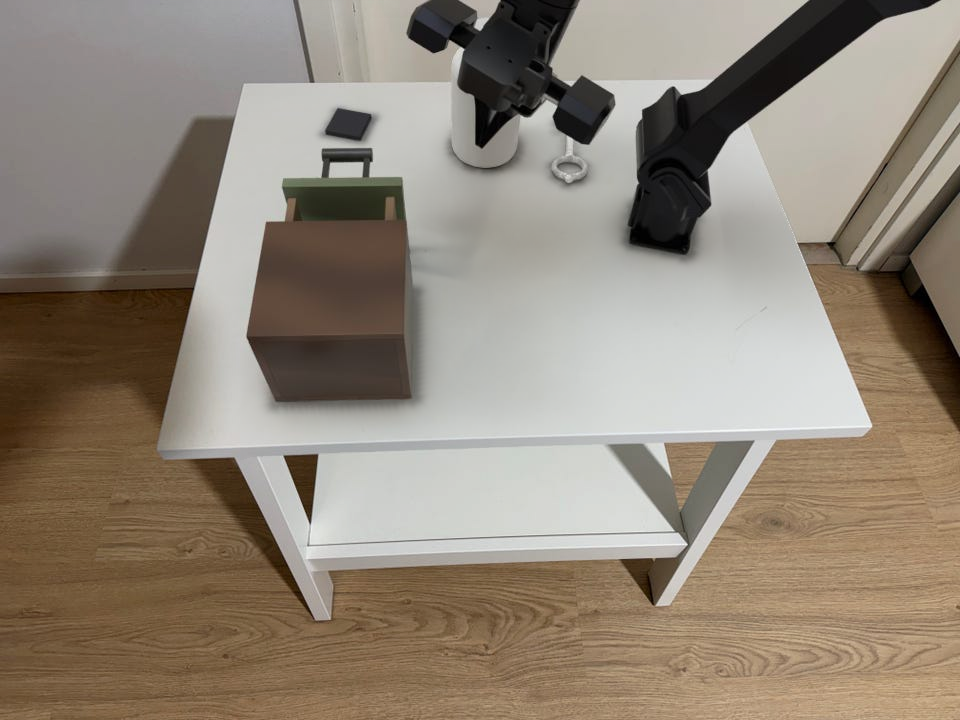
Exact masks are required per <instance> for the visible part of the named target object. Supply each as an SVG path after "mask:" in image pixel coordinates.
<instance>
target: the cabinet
mask: <svg viewBox="0 0 960 720" xmlns="http://www.w3.org/2000/svg"><path fill="white" fill-rule="evenodd" d="M409 241H410V240H409V229H408V221H407V219H406V220H348V221H285V220H281V221H279V220H277V221H276V220H275V221H273V220H271V221H265V224H264V232H263V237H262V242H261V247H260V248H261V249H260V253H259V260H258V265H257V271H256V275H255V276H256V277H255V283H254V288H253V295H252V298H251V299H252V300H251V305H250V312H249V317H248V323H247V329H246V334H245V337H246V340H247V342H248V345H249V347H250V349H251V351H252V354H253V355H254V357H255V360H256V362H257V364H258V366H259V369H260V370H261V371H260V372H261V373H262V375H263V377H264V379H265V381H266V384H267V386H268V388H269V391H270V393H271V395H272V397H273V399H274V402H277V403H278V402H314V401H315V402H317V401H356V400H358V401H359V400H361V401H363V400H407V399H408V400H409V399H412V398H413V394H412V393H413V351H414V350H413V349H414V348H413V345H414V341H413V340H414V283H413V272H412V263H411V261H412V260H411V252H410V250H411V249H410V243H409Z"/></svg>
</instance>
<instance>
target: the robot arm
mask: <svg viewBox="0 0 960 720" xmlns="http://www.w3.org/2000/svg"><path fill="white" fill-rule="evenodd" d="M941 1H942V0H807V1H806V2H804V3H803V5H801V6H800V7H799V8H798V9H796V10H795V11H794V12H793V13H792V14H790V15H789V16H788V17H787V18H786V19H785V20H783V21H782V22H781V23H780V24H778V25H777V26H776V27H775V28H774V29H773V30H771V31H770V32H768V33H767V34H766V36H764V37H763V38H762V39H761V40H760V41H758V42H757V43H756V44H755V45H754V46H752V47H751V48H750V49H749V50H748V51H746V52H745V53H744V54H743V55H741V57H739V58H738V59H737V60H735V61H734V62H733V63H731V65H730V66H728V68H726V69H725V70H724V71H723V72H721V73H720V74H719V75H717V77H716V78H714V79H713V80H712V81H711V82H710V83H708V84H707V85H706V86H704V87H703V88H701V89H700V90H698V91H697V90H696V91H693V92H688V93H683V94H682V93H681V92H680V90H679V89H677V87H676V86H674V85H672V86H670V87H669V88H667V89H666V90H665V92H664V93H663V94H662V95H661V96H660V97H659V98H658V99H657V100H656V101H655V102H654V103H652V104H650V105H649V106H646V107H644V108H642V109H641V119H639V121H638V122H637V124H636V126H635V127H636V128H635V162H636V163H635V164H636V165H635V166H636V180H637V182H638V183H637V184H636V187H635V190H634V194H633V198H632V202H631V205H630V208H629V214H628V218H627V219H628V221H627V227H628V228H630V229H629V230H630V231H629V236H628V243H629V244H630V245H634V246H640V247H644V248H650V249H654V250H660V251H664V252H670V253H674V254H675V253H676V254H679V255H680V254H681V255H687V254H689V251H690V249H691V240H692V235H693V233H694V229H695V226H696V225H697V223H698V219H699V218H701V217H702V216H703V215H704V214H705V213H706V212H707V211H708V210H709V209H710V208H711V207H712V196H711V187H710V179H709V178H710V177H709V169H710V168H712V166H713V164H714V163H715V161H716V159H717V158H718V156H719V154H720V153H721V151H722V149H723V148H724V146H725V144H726V143H727V141H728V139H729V138H730V137H731V136H732V135H733V133H735V132H736V131H737V130H738V129H740V128H741V127H742V126H744V125H745V124H746V123H748V122H749V121H750V120H752V119H753V118H755V117H756V116H757V115H759V114H760V113H761V112H762V111H763V110H765V109H766V108H767V107H769V106H770V105H771V104H773V103H774V102H775V101H777V100H778V99H779V98H781V97H782V96H783V95H785V94H786V93H788V92H789V91H790V90H791V89H793V88H794V87H795V86H797V85H798V84H799V83H801V82H802V81H803V80H805V79H806V78H808V76H810V75H811V74H812V73H814V72H815V71H817V70H818V69H819V68H821V67H822V66H824V65H825V64H826V63H827V62H828V61H830V60H831V59H833V58H834V57H835V56H836V55H838V54H839V53H840V52H842V51H843V50H845V49H846V48H847V47H848V46H850V45H851V44H853V43H854V42H855V41H857V39H859V38H861V36H863V35H864V34H866V33H867V32H868V31H870V30H871V29H872V28H873V27H875V26H876V25H878V24H880V23H881V22H882V21H884V20H887V19H890V18H892V17H893V18H894V17H897V16H901V15H905V14H908V13H913V12H917V11H921V10H924V9H928V8H931V7H933V6H934V5H935V4H938V3H939V2H941ZM580 2H581V0H499V2H498V3H497V6H496V9H495V11H494V12H493V13H492V14H491V16H490V17H488V18H489V20H488V21H487V22H486V23H485V25H484V26H483V28H482V29H481V30H480V31H479V30H478V29H476V28H474V26H475V24H476V21H477V19H479V17H478V11H477V10H476V9H474V8H473V7H471V6H469V5H468V4H466V3H464V2H463V1H461V0H426V1H424V2H423V3H421V4H420V5H418V6H416V7H415V8H414V10H413V12H412V13H411V15H410V18H409V22H408V25H407V28H406V32H405V33H406V36H407V39H408V40H410V41H411V42H413V43H415V44H417V45H418V46H420V47H422V48H423V49H425V50H426V51H428V52H430V53H431V54H434V55H435V54H436V53H440V52H443V51H445V50H446V49H447V48H448V45H449V44H450V43H449V42H452V43H454V44H455V45H456V46H458V47H460V48H461V47H462V48H463V49H465V50H464V51H463V55H462V60H461V64H460V69H459V74H458V79H457V85H458V87H459V89H460V90H462V91H463V92H465V93H466V94H471V95H473V96H474V101H475V145H476V146H478V147H479V148H481V149H483V148H484V147H485V146H486V145H487V144H488V142H489V141H490V140H491V139H492V138H493V137H494V136H495V135H496V134H497V133H498V132H499V131H500V129H501V128H502V127H503V126H504V125H505V124H506V123H507V122H508V121H510V120H511V119H512V118H513V117H515V116H516V115H518V114H519V115H520V117H521V116H522V117H523V118H525V119H526V118H527V119H528V118H532V117H533V116H534V114H535V113H536V112H537V111H538V110H539V109H540V108H542V106H543V105H544V104H545V103H546V102H547V101H548V102H550V103H551V104H553V105H555V106H556V108H555V111H554V113H553V114H552V120H553V122H554V126H555V129H556V130H557V131H559V132H561V133H562V134H564V135H566V137H567V136H569V137H570V138H572V139H573V141H576V142H577V143H579V144H580V145H585V146H590V145H591V144H592V142H593V141H594V139H595V138H596V137H597V135H599V132H601V130H602V128H603V127H604V126H605V124H606V123H607V121H608V120H609V118H610V116H611V114H612V112H613V111H614V109H615V108H616V107H615V106H616V98H615V94H614V93H612V92H611V91H609V90H608V89H606V88H604V87H602V86H601V85H599V84H597V83H596V82H594V81H593V80H591V79H589V78H587V77H586V76H584V75H583V74H581V75H580V77H578V79H577V80H576V81H575V82H574V83H573V84H572V85H569V84H568V83H566V82H565V81H564V80H562V79H560V78H558V74H556V73H555V72H553V70H554V69H553V66H551V64H552V62H553V61H554V58H555V56H556V54H557V51H558V49H559V47H560V44H561V43H562V40H563V38H564V37H565V36H564V35H565V33H566V32H567V30H568V27H569V25H570V23H571V21H572V19H573V17H574V15H575V13H576V10H577V8H578V6H579V4H580Z"/></svg>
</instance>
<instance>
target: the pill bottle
mask: <svg viewBox="0 0 960 720" xmlns="http://www.w3.org/2000/svg"><path fill="white" fill-rule="evenodd" d="M489 18H490V17H480V18H477V21H476V24H475V26H474V28H476V29H478V30H479V31H480V30H481V29H482V28H483V26H484V25H485V23H486V22H487V21H488V20H489ZM464 50H465V49H463V48H462V47H460V48H459V49H457V51H456V52H455V53H454V56H453V58H452V60H451V65H450V66H451V67H450V68H451V69H450V72H451V73H450V76H451V77H450V81H451V83H450V84H451V85H450V87H451V90H450V92H451V94H450V95H451V97H450V98H451V99H450V100H451V108H450V110H451V112H450V113H451V114H450V115H451V116H450V117H451V119H450V121H451V126H450V127H451V131H450V132H451V135H450V136H451V146H452V151H453V152H454V154H455V156H456V157H457V158H458V159H459V160H460V161H461V162H463V163H465V164H467V165H469V166H471V167H475V168H482V169H487V168H496V167H499V166H502V165H504V164H507V163H508V162H509V161H511V159H512V158H513V157H514V155H515V154H516V151H517V148H518V144H519V134H520V125H521V115H519V114H518V115H516V116H515V117H513V118H512V119H511V120H510V121H508V122H507V123H506V124H505V125H504V126H503V127H502V128H501V129H500V131H499V132H498V133H497V134H496V135H495V136H494V137H493V138H492V139H491V140H490V141H489V142H488V144H487V145H486V146H485V147H484V148H483V149H481V148H479V147H478V146H476V145H475V101H474V96H473V95H471V94H466V93H465V92H463V91H462V90H460V89H459V87H458V85H457V79H458V74H459V69H460V64H461V60H462V55H463V51H464Z"/></svg>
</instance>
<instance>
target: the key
mask: <svg viewBox="0 0 960 720" xmlns="http://www.w3.org/2000/svg"><path fill="white" fill-rule="evenodd" d="M565 143H566V144H565V154H564V155H560V156H558V157H556V158H555V159H554V160H553V162H552V163H551V171H552V173H553V174H554V175H555V176H556V177H557V178H559V179H563V180H564V181H565V182H566V183H568V184H570V183H573V181H575V180H580V179H582V178H584V177H585V176H586V175H587V173H588V169H589V166H588V164H587V162H586V161H585V159H583V158H582V157H580V156H576V155H574V139H572V138H570V137H569V136H567V135H566V141H565ZM562 163H573V164H574V163H575V164H577V165H579V166H580V167H581V170H580V171H579V172H576V173H568V172H563V171H562V170H560V168H558V165H560V164H562Z"/></svg>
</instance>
